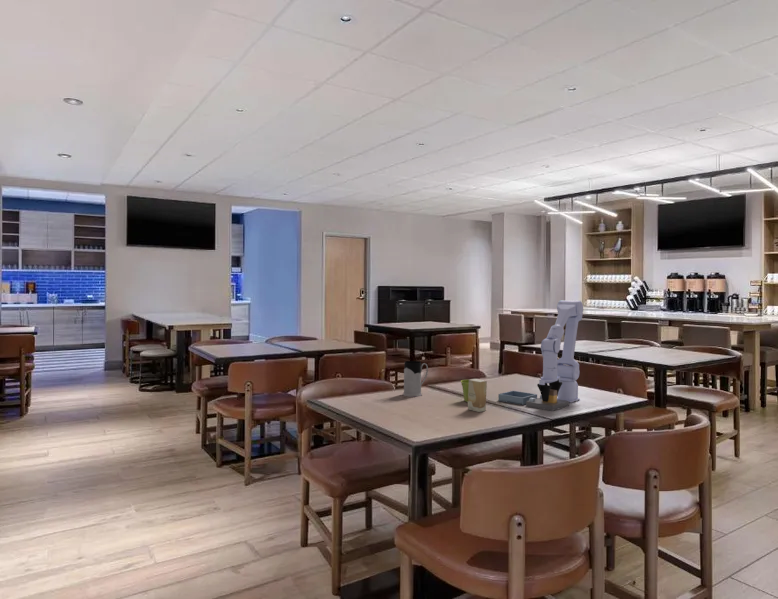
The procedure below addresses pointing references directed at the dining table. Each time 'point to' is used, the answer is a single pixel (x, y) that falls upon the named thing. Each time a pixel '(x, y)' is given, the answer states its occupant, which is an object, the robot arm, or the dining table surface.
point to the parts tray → (516, 397)
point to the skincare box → (477, 395)
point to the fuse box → (546, 404)
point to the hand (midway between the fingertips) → (549, 400)
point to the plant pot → (465, 389)
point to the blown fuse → (552, 396)
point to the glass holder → (413, 378)
